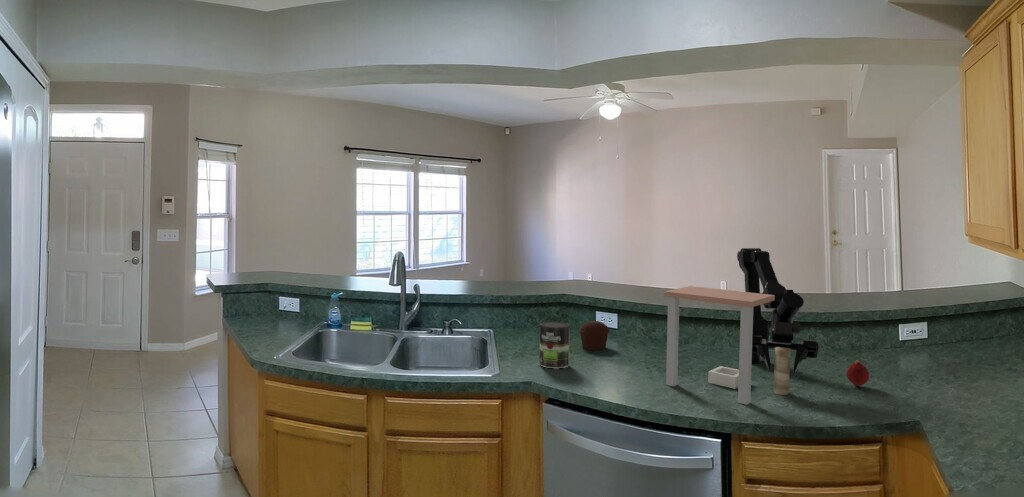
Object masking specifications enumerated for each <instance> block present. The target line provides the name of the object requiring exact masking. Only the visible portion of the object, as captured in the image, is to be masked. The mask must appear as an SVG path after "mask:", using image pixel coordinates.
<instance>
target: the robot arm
mask: <svg viewBox="0 0 1024 497" xmlns="http://www.w3.org/2000/svg"><path fill="white" fill-rule="evenodd" d="M736 255H737V256H736V258H737V261H738V266H739V268H740V269H741V271H742V272H743V273H744V275H743V276H744V290H745V291H744V292H750V293H759V294H768V295H775V300H774V301H771V302H768V303H764V304H761V305H763V306H764V309H767V310H769V309H770V310H772V311H771V317H770V318H771V319H770V320H771V325H770V327H771V329H770V330H771V332H770V331H769V328H768V327H769V326H768V320H767V319H765V318H764V317H763V315H762V306H761V305H758V306H754V307H753V334H752V364H760V363H762V362H763V361H764V363H765V366H766V367H767V369H768V372H770V371H771V368H772V367H771V366H772V365H771V358H770V350H769V349H773V350H775V347H786V348H789V349H790V351H795V358H794V364H793V371H792V372H793V374H794V375H795V374H796V372H797V371H798V368H799V366H800V364H801V362H802V361H804V360H807V358H809V359H810V358H811V359H816V358H818V353H819V347H820V346H819V342H818V340H814V339H802V343H794V342H793V341H794V334H800V331H801V328H800V327H801V325H800V321H793V319H794V318H795V317H796V316H797V315H798V313H799V312H800V310H801V308H802V307H803V305H804V303H805V302H804V298H803V297H802V296H801V295H799V294H798V293H796V292H795V291H794V289H786V286H784V285H783V284H781V283H779V281H778V278H777V276H776V275H777V274H776V272H775V269H774V267H773V265H772V262H771V260H770V257H771V256H770V252H769V251H767V250H762V248H759V247H758V248H757V247H754V248H753V247H747V248H746V247H742V248H740V250H739V251H737V254H736ZM760 284H761V286H762V290H763V291H762V293H761V288H760V287H761V286H760ZM770 333H771V334H770ZM770 335H771V336H770ZM769 336H770V340H771V341H770V340H769ZM736 337H737V342H738V343H739V344H740V330H739V332H738V334H737V336H736Z"/></svg>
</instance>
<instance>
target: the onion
mask: <svg viewBox="0 0 1024 497" xmlns="http://www.w3.org/2000/svg"><path fill="white" fill-rule="evenodd" d="M854 361H855V363H854V362H853V363H852V364H850V365H849V367H848V368H847V369H846V377H847V380H848V381H849V382H850V383H852V384H853V386H855V385H856V386H859V387H860V386H863V385H865V384H866V383H867V382H868V381H869V380H870V373H869V370H868V368H867V367H866V366H865V365H864V364H862V362H860V360H857V359H856V360H854ZM856 386H855V387H856Z"/></svg>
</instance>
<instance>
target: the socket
mask: <svg viewBox="0 0 1024 497" xmlns="http://www.w3.org/2000/svg"><path fill="white" fill-rule="evenodd" d="M707 373H708V376H707V378H708V379H707V383H708V384H712V385H717V386H722V387H725V388H729V389H734V390H736V389H738V384H739V368H738V369H737V368H733V367H728V366H727V367H726V366H722V365H720V366H718V367H715V368H713V369H711V370H709V371H708V372H707Z"/></svg>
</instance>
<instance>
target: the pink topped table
mask: <svg viewBox="0 0 1024 497" xmlns="http://www.w3.org/2000/svg"><path fill="white" fill-rule="evenodd" d="M663 296H664V297H667V324H666V327H667V328H666V332H667V333H666V368H665V369H666V370H665V372H666V374H665V378H666V379H665V385H666V386H669V387H673V388H674V387H675V386H677V385H678V378H679V377H678V373H679V371H678V369H679V332H680V331H679V329H680V327H679V326H680V299H683V300H691V301H699V302H706V303H715V304H723V305H730V306H739V307H740V323H739V324H740V326H739V328H740V329H739V331H740V343H739V353H738V354H739V356H738V370H739V384H738V388H737V390H738V391H737V403H738V404H743V405H749V404H750V403H751V392H752V391H751V390H752V389H751V388H752V387H751V386H752V364H753V363H752V334H753V307H754V306H758V305H763V304H764V303H768V302H771V301H774V300H775V295H768V294H762V293H760V294H759V293H750V292H745V291H739V290H731V289H728V290H727V289H721V288H712V287H703V286H693V285H690V286H684V287H680V288H679V287H678V288H674V289H671V290H664V292H663Z"/></svg>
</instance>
